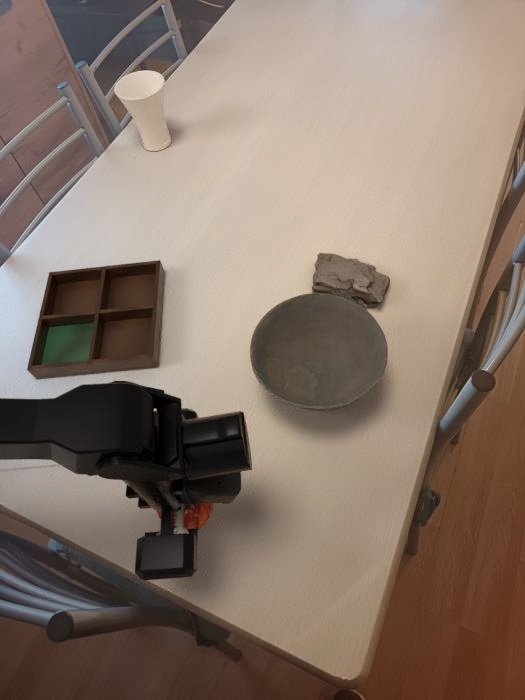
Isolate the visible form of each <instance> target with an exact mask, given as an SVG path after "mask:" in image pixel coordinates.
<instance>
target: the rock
mask: <svg viewBox="0 0 525 700" xmlns="http://www.w3.org/2000/svg"><path fill="white" fill-rule="evenodd" d="M316 256H317V259H316V261H315V263H314V268H315V271H314V273H313V277H312V286H311V291H312V292H311V293H327V294H333V295H337V296H341V297H345V298H348V299H350V300H352V301H354V302H356V303H357V304H359V305H360V306H362V307H363V308H377V307H378V306H379V305H381V304H382V303H381V302H383V300H384V296H385V294H386V293H387V291H388V289H389V287H390V284H391V278H390V276H389V275H387V274H384V273H381V272H379V271H377V267H376V266H374V265H373V264H370V263H367V262H364V261H360V260H359V259H358V258H347V257H344V256H341V255H339V254H336V253H330V252H329V253H327V252H319V253H318V254H317V255H316Z"/></svg>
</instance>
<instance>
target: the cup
mask: <svg viewBox="0 0 525 700" xmlns="http://www.w3.org/2000/svg"><path fill="white" fill-rule="evenodd" d="M165 82H166V81H165V77H164V76H163V75H162V73H159V72H158V71H155V70H148V69H147V70H137V71H134V72H131V73H128V74H126V75H124V76H122V77H121V78H120V79H119V80H118V81H117V82H116V83H115V85H114V87H113V90H114V94H115V95H116V97H117V98H118V100H119V101H120V102H121V104H122V105H123V106H124V108H125V109H126V111H127V112H128V113H129V114H130V116H131V118H132V120H133V122H134V123H135V126H136V127H137V130H138V132H139V134H140V137H141V141H142V145H143V148H144V149H145V150H147V151H150V152H160V151H162V150H165V149H166V148H167V147H169V146H170V145H171V143H172V137H171V134H170V132H169V129H168V127H167V126H168V125H167V122H166V115H165V114H166V113H165V86H166V85H165ZM169 134H170V135H169ZM169 137H170V139H169ZM168 140H169V141H168ZM167 141H168V142H167ZM166 142H167V143H166ZM143 143H144V144H143ZM164 143H166V144H164ZM163 144H164V145H163ZM145 145H146V146H145ZM161 145H162V146H161ZM147 146H148V147H147ZM157 146H160V147H157ZM151 147H155V148H151Z"/></svg>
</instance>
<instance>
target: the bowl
mask: <svg viewBox="0 0 525 700" xmlns="http://www.w3.org/2000/svg"><path fill="white" fill-rule="evenodd" d="M249 344H250V346H249V360H250V365H251V368H252V369H251V370H252V371H253V374H254V376H255V378H256V379H257V382H258V383H259V384H260V386H262V388H263V389H265V390H266V392H267V393H268V394H270V395H271V396H273V397H275V398H276V399H278V400H279V401H281V402H283V403H285V404H287V405H289V406H291V407H294V408H298V409H302V410H306V411H312V412H326V411H332V410H336V409H339V408H342V407H346V406H348V405H350V404H353V403H354V402H357V401H358V400H360V399H361V398H362V397H364V396H365V395H366V394H367V393H369V392H371V391H372V390H373V389H374V387H376V385H377V384H378V383H379V382H380V380H381V379H382V377H383V375H384V374H385V371H386V368H387V364H388V358H389V347H388V342H387V338H386V335H385V333H384V331H383V329H382V327H381V325H380V324H379V323H378V321H377V320H376V318H375V317H374V316H373V315H372V314H371V312H370V311H368V309H366V307H362V305H361V304H359V303H357V302H355V301H354V300H352V299H350V298H347V297H345V296H340V295H336V294H332V293H327V292H325V293H313V292H311V293H304V294H299V295H296V296H293V297H290V298H288V299H285V300H283V301H282V302H280V303H278V304H277V305H275V306H274V307H272V308H271V309H270V310H268V311H267V312H266V313H265V314H264V315H263V317H261V319H260V320H259V322H258V323H257V325H256V326H255V328H254V330H253V333H252V335H251V340H250V343H249Z"/></svg>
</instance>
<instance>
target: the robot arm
mask: <svg viewBox="0 0 525 700" xmlns="http://www.w3.org/2000/svg"><path fill="white" fill-rule="evenodd" d="M4 460H5V461H6V460H7V461H8V460H9V461H10V460H12V461H13V460H16V461H17V460H18V461H19V460H43V461H44V460H45V461H53V462H55V463H57V464H58V465H60V466H61V467H63V468H65V469H67V470H68V471H70V472H72V473H74V474H75V475H87V476H88V477H93V476H98V477H100V478H102V479H106V480H113V481H114V480H116V481H122V482H123V483H124V484H125V485H126V486H125V497H126V498H127V499H137V507H138V508H139V509H140V510H143V509H144V510H146V509H152V510H155V511H156V510H157V511H161V519H160V529H159V531H147V532H144V535H142V536H141V537H138V538H137V539H136V550H135V551H136V552H135V563H134V574H135V575H136V576H137V577H138V578H139V579H141V580H143V581H157V580H168V579H170V580H171V579H181V578H193V576H194V575H195V574H196V573H197V572H198V543H199V542H198V541H199V539H198V538H199V537H198V535H199V530H198V529H186V528H184V510H189V509H195V504H201V503H213V504H222V505H230V504H232V503H233V502H234V501H235V500H236V498H237V497H238V495H239V494H240V493H241V491H242V472H247V471H252V470H253V459H252V449H251V445H250V438H249V432H248V425H247V421H246V416H245V413H244V411H241V410H238V411H237V410H236V411H232V412H226V413H220V414H214V415H207V416H202V417H199V415H198V413H197V412H196V411H195V410H194V409H191V408H188V407H182V398H181V397H177V396H174V395H171V394H168V393H166V392H165V389H160V388H157V387H151V386H146V385H143V384H142V385H141V384H139V383H135V382H132V381H128V380H113V381H110V382H106V383H105V382H104V383H103V382H101V383H85V384H84V383H83V384H80V385H77V386H76V387H74V388H72V389H70V390H68V391H66V392H64V393H62V394H60V395H58V396H55V397H52V398H51V397H50V398H48V397H47V398H13V397H12V398H9V397H8V398H6V397H5V398H4V397H0V461H4ZM157 511H156V512H157ZM174 511H175V512H176V513H174ZM174 515H176V516H175V517H174ZM174 518H175V519H177V520H175V521H174ZM174 522H175V523H176V524H174V526H176V527H175V528H173V523H174Z"/></svg>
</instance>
